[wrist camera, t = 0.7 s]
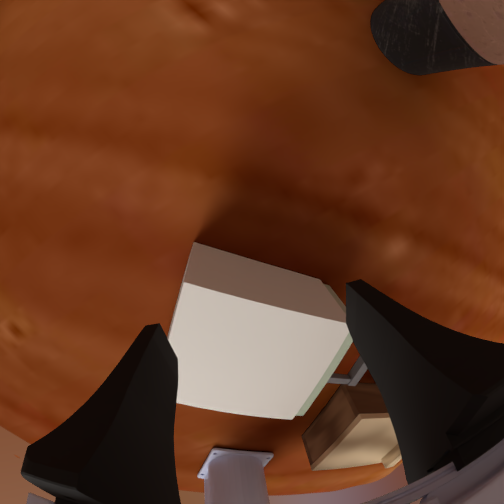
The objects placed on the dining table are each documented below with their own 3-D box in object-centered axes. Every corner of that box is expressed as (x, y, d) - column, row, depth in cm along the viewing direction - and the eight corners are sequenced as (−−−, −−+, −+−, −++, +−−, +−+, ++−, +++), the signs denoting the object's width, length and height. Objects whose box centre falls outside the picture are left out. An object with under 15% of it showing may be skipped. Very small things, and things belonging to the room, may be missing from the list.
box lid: (385, 457, 28) (391, 469, 26) (310, 465, 25) (315, 481, 23) (432, 408, 25) (441, 421, 23) (359, 413, 22) (368, 431, 20)
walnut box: (373, 433, 32) (385, 457, 28) (301, 436, 30) (310, 465, 25) (415, 384, 29) (432, 408, 25) (343, 381, 27) (358, 412, 22)
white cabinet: (277, 365, 25) (292, 419, 19) (166, 340, 23) (155, 397, 16) (319, 279, 22) (353, 324, 16) (193, 241, 20) (183, 281, 14)
